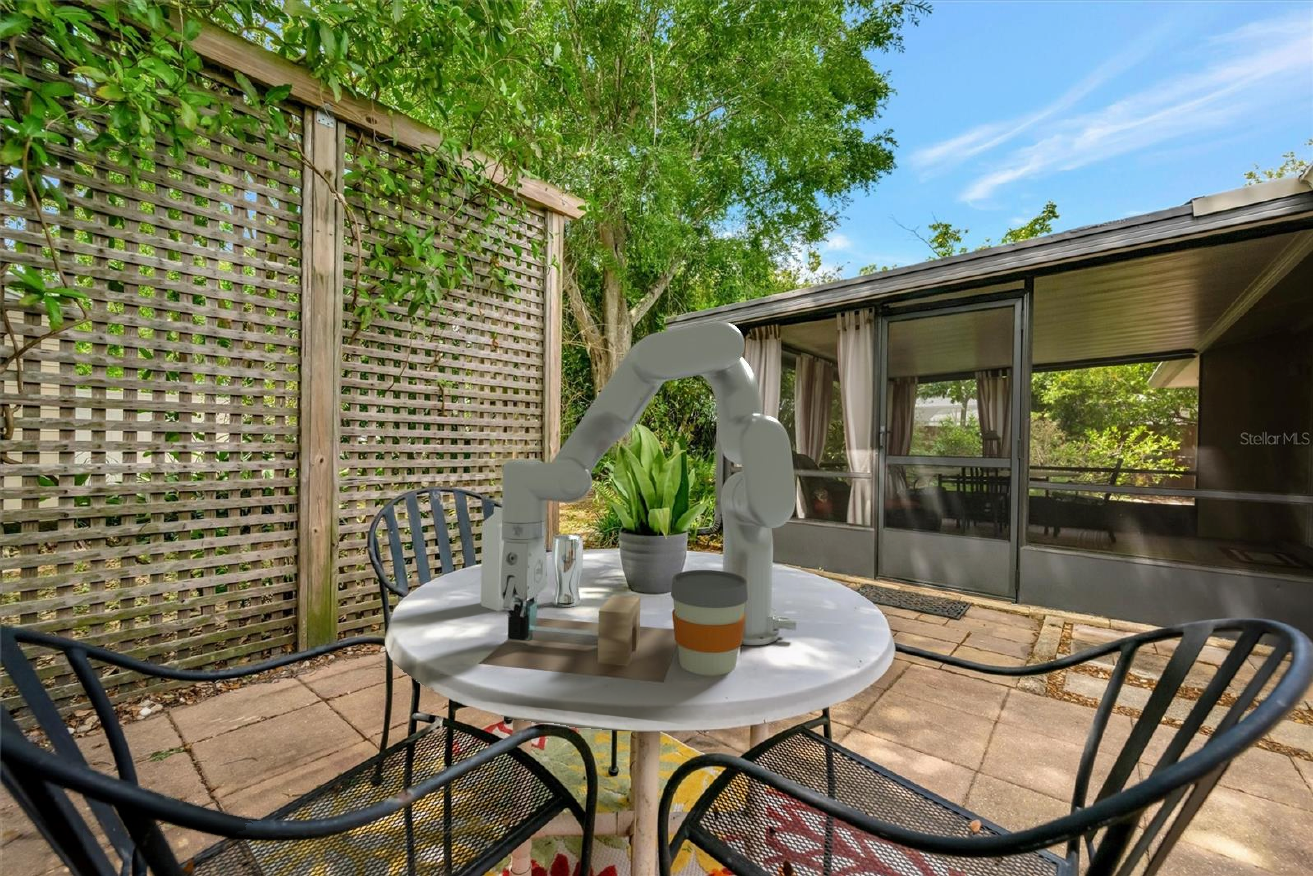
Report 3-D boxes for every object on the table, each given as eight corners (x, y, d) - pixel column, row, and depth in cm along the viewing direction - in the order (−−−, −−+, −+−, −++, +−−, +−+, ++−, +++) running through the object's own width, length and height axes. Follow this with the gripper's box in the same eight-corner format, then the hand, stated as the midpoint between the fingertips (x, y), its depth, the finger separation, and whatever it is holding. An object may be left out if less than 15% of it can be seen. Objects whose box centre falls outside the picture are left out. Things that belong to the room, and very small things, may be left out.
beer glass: (579, 608, 120) (580, 540, 120) (547, 607, 120) (549, 539, 120) (584, 599, 127) (585, 534, 127) (554, 598, 127) (555, 533, 127)
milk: (497, 617, 114) (499, 511, 114) (480, 610, 118) (481, 508, 117) (521, 609, 119) (522, 507, 118) (503, 604, 122) (505, 505, 122)
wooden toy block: (639, 644, 98) (640, 596, 98) (627, 665, 89) (628, 613, 88) (612, 642, 98) (613, 594, 98) (597, 663, 89) (598, 610, 89)
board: (682, 636, 105) (682, 629, 105) (663, 690, 83) (663, 682, 83) (533, 623, 110) (533, 617, 110) (478, 671, 88) (478, 663, 88)
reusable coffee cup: (683, 692, 83) (685, 592, 82) (659, 658, 95) (661, 571, 95) (759, 683, 86) (761, 587, 86) (727, 651, 98) (729, 568, 98)
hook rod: (630, 643, 95) (631, 608, 95) (626, 650, 92) (627, 614, 92) (515, 633, 98) (515, 599, 98) (507, 639, 95) (508, 605, 95)
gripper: (525, 540, 88) (523, 655, 88) (560, 523, 104) (558, 621, 104) (481, 538, 89) (479, 651, 89) (522, 522, 105) (521, 618, 105)
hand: (522, 634), depth 97 cm, fingers closed on hook rod, 3 cm apart
